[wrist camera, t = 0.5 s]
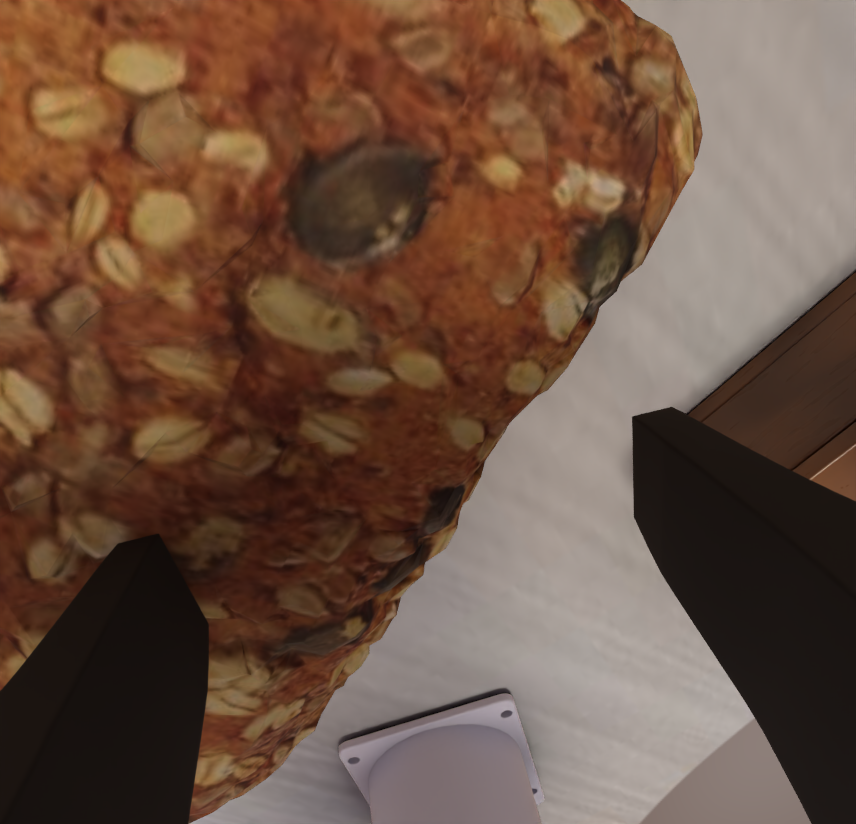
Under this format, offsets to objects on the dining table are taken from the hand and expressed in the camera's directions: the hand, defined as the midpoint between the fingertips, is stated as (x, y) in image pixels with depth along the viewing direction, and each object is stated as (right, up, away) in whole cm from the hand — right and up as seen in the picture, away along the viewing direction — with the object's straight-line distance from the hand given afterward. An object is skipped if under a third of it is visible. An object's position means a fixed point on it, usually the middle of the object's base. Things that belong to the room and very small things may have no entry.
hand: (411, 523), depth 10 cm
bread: (-5, +5, +8) cm, 11 cm away
